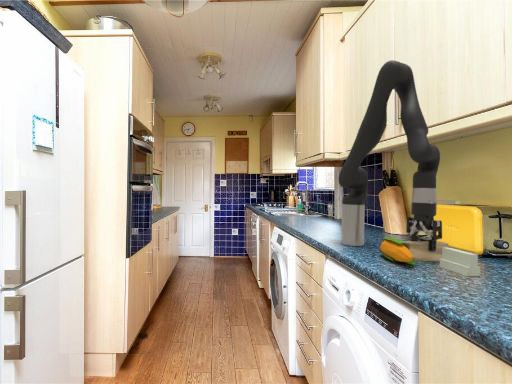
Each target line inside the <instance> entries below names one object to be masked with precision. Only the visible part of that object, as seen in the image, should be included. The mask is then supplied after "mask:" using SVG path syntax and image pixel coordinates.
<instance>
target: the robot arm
mask: <svg viewBox="0 0 512 384" xmlns="http://www.w3.org/2000/svg"><path fill="white" fill-rule="evenodd" d="M376 76H377V77H376V79H375V80H376V81H375V83H374V86H373V90H372V93H371V97H370V100H369V103H368V106H367V108H366V111H365V114H364V116H363V119H362V121H361V123H360V126H359V128H358V131H357V134H356V137H355V139H354V142H353V144H352V146H351V149H350V151H349V153H348V155H347V157H346V159H345V162H344V163H343V164H342V167H341V169H340V171H339V174H338V184H339V186H340V187H341V188H343V189H349V190H350V191H349V192H348V194H347V195H345V196H344V197H342V200H341V201H342V202H341V233H340V234H341V236H340V239H341V244H342V245H344V246H354V247H361V246H364V245H365V210H366V207H365V204H366V199H367V197H368V187H369V186H368V184H369V176H368V172H367V170H366V169H364V168H363V167H361V164H362V162H363V161H364V159H365V158H366V157H367V156H368V155H369V154H370V153H371V152H372V151H373V150H374V149H375V148H376V147H377V145H378V144H380V142H381V139H382V137H383V134H384V132H385V130H386V128H387V122H388V116H387V115H388V114H387V111H388V110H387V109H388V102H389V99H390V96H391V94H392V92H393V90H394V91H395V93H396V94H397V96H398V98H399V101H400V102H399V103H400V121H401V122H400V123H401V125H402V128H403V131H404V134H405V136H406V143H407V144H406V145H407V149H408V150H407V151H408V154H409V157H410V159H411V160H412V161H413V162H415V163H416V164H417V170H416V171H414V173H413V175H412V191H411V204H410V205H411V207H410V208H411V210H410V213H411V215H413V216H407V218H406V230H405V231H406V233H407V234H409V236H410V241H419V236H418V235H419V234H420V232H423V233H424V234H425V235H426V236H427V238H428V251H430V252H435V251H436V241H439V240H442V239H443V222H442V220H437V219H435V218H434V217H435V216H437V207H438V205H437V201H438V200H437V199H438V194H437V173H438V170H439V166H440V162H441V161H440V160H441V152H440V149H439V147H438V146H437V145H435V144H432V143H430V142H429V139H428V134H429V128H428V124H427V122H426V119H425V116H424V114H423V111H422V109H421V106H420V102H419V97H418V94H417V93H418V92H417V89H416V84H415V78H414V76H415V75H414V72H413V70H412V68H411V66H410V65H408V64H407V63H403V62H400V61H397V60H392V59H391V60H387V62H384V64H382V66H381V68H380V70H379V72H378V74H377V75H376Z"/></svg>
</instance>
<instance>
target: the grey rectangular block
mask: <svg viewBox="0 0 512 384" xmlns="http://www.w3.org/2000/svg"><path fill="white" fill-rule="evenodd" d="M478 261H479V255H478V254H477V253H473V252H469V251H465V250H462V249H461V250H460V249H457V248H452V247H449V246H448V248H442V259H440V261H439V267H440V268H441V269H445V270H447V271H450V272H453V273H456V274H459V275H463V276H465V277H481V266H478V263H479V262H478Z"/></svg>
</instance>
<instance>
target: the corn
mask: <svg viewBox="0 0 512 384" xmlns="http://www.w3.org/2000/svg"><path fill="white" fill-rule="evenodd" d="M402 241H403V240H400V239H398V238H394V237H385V238H383V240H382V242H381V243H380V246H379V247H380V253H381V254H382V255H383V256H384V257H385V258H386V259H388V260H389V261H392V262H393V263H395V262H401V263H402V262H403V263H405V264H408V265H414V264H415V265H416V262H417V261H415V259H414V258H413V255H412V254H411V252H410V251H409V250H408V247H407V246H406V244H405V243H404V242H402Z"/></svg>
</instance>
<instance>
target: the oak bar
mask: <svg viewBox="0 0 512 384" xmlns="http://www.w3.org/2000/svg"><path fill="white" fill-rule="evenodd" d="M401 241H402V242H404V243H405V244H406V246H407V247H408V250H409V251H410V252H411V254H412V255H413V258H414V259H415V261H416V262H440V259H442V248H448V247H449V243H447V242H444V241H439V240H437V241H436V251H435V252H430V251H428V241H427V240H426V241H424V240H422V241H419V240H418V241H411V240H409V241H404V240H401Z"/></svg>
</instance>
